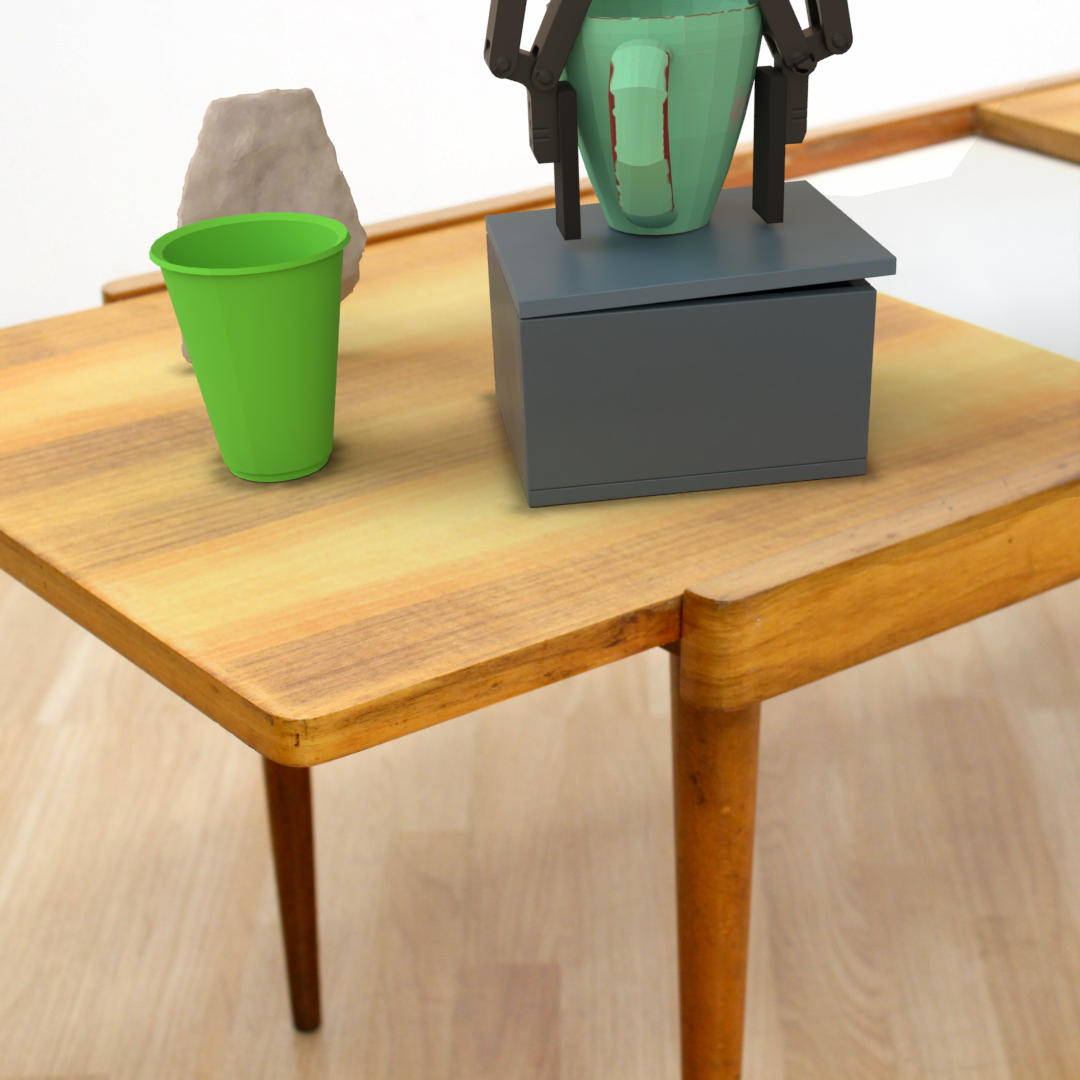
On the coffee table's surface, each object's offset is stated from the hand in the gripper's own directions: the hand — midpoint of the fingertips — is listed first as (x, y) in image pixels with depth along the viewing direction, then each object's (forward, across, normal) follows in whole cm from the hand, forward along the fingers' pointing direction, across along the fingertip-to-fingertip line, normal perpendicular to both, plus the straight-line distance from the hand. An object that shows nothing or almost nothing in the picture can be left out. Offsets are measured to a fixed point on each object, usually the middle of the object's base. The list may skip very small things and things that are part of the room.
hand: (668, 223), depth 71 cm
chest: (+10, 0, 0) cm, 10 cm away
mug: (+1, +1, 0) cm, 1 cm away
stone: (+11, +19, -15) cm, 27 cm away
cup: (+11, +19, -1) cm, 22 cm away
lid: (+1, 0, 0) cm, 1 cm away
